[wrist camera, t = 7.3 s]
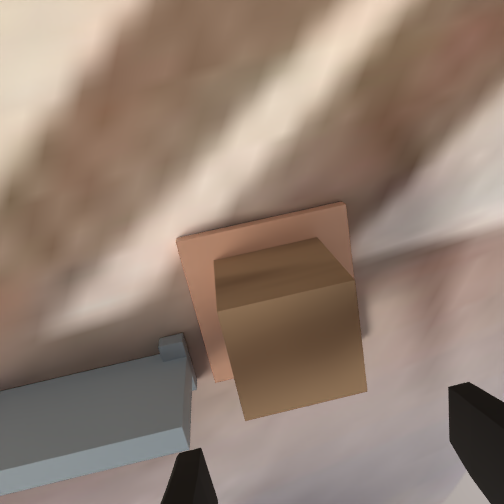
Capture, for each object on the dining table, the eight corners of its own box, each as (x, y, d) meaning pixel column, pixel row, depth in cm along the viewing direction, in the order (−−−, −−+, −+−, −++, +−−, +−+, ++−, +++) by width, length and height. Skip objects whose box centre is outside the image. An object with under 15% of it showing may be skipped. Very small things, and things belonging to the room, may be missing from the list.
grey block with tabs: (196, 379, 21) (194, 465, 16) (-27, 432, 21) (-102, 538, 16) (182, 333, 20) (175, 409, 15) (-53, 387, 20) (-143, 485, 15)
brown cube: (335, 325, 21) (373, 389, 16) (235, 349, 20) (245, 420, 16) (322, 235, 19) (362, 278, 14) (213, 260, 19) (217, 311, 14)
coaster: (358, 341, 22) (361, 347, 21) (214, 375, 21) (215, 382, 21) (341, 201, 19) (345, 204, 18) (176, 238, 19) (176, 242, 18)
